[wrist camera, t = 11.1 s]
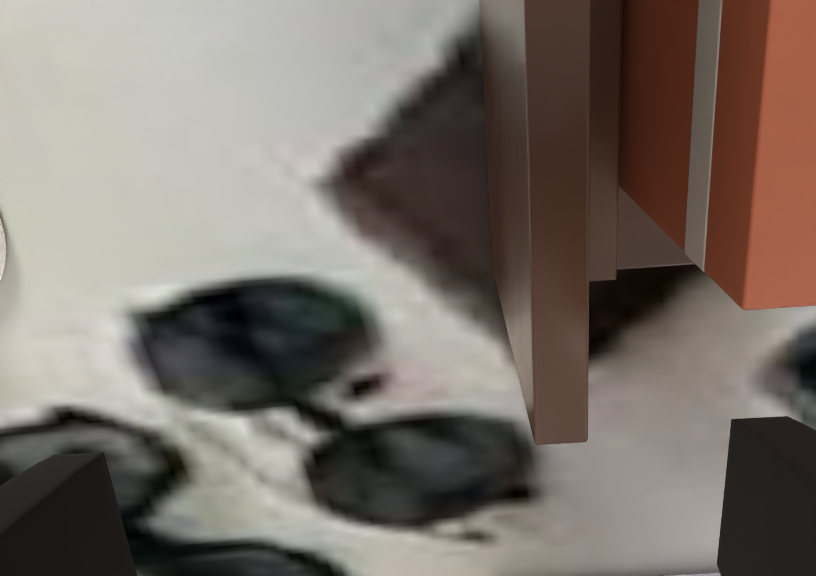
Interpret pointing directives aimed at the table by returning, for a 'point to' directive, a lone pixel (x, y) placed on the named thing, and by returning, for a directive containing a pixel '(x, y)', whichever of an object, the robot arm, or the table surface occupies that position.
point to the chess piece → (2, 250)
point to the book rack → (558, 192)
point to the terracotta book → (726, 138)
